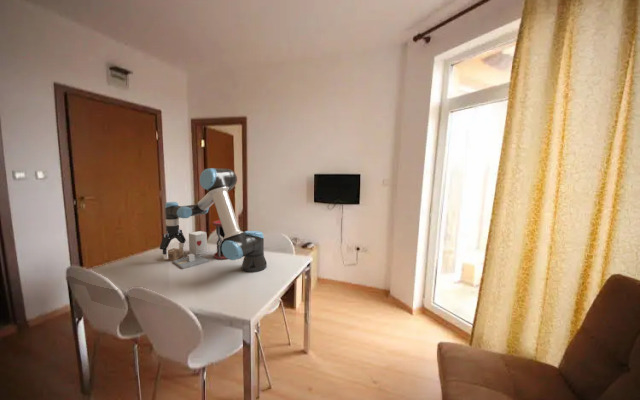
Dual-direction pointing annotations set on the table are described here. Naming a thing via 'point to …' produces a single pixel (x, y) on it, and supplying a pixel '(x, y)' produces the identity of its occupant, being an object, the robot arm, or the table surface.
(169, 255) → the brown cardboard crate
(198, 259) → the plate
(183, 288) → the table surface
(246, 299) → the table surface
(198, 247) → the supplement box
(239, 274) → the table surface
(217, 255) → the hourglass
